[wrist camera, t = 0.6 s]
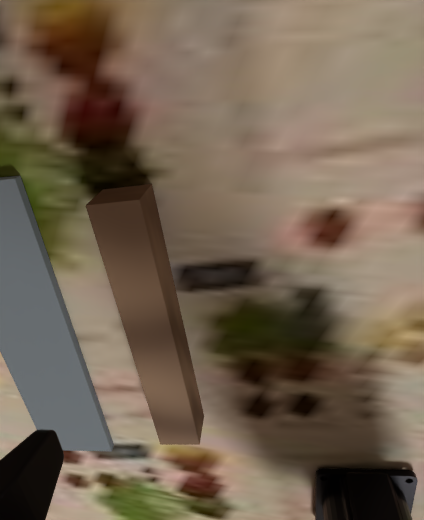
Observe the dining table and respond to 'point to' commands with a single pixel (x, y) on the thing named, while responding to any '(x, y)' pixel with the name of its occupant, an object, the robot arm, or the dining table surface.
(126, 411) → the dining table surface
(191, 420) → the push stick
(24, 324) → the grey flat bar
